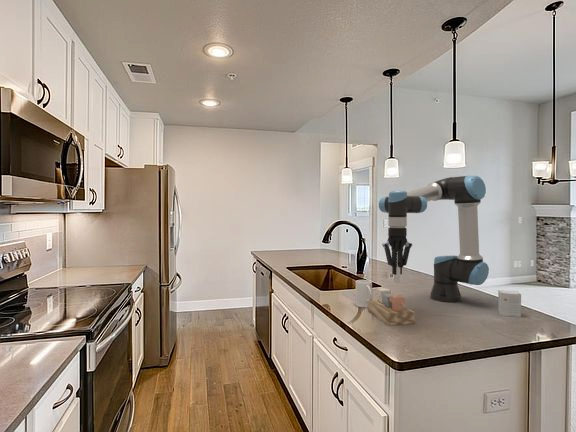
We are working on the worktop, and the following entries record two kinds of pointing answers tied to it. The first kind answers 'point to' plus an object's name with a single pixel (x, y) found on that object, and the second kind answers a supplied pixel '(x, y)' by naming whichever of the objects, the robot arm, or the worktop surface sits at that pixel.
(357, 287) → the mug
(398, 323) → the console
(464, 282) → the robot arm
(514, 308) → the small box
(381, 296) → the ivory key
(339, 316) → the worktop surface
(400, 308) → the terracotta key
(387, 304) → the slate key
